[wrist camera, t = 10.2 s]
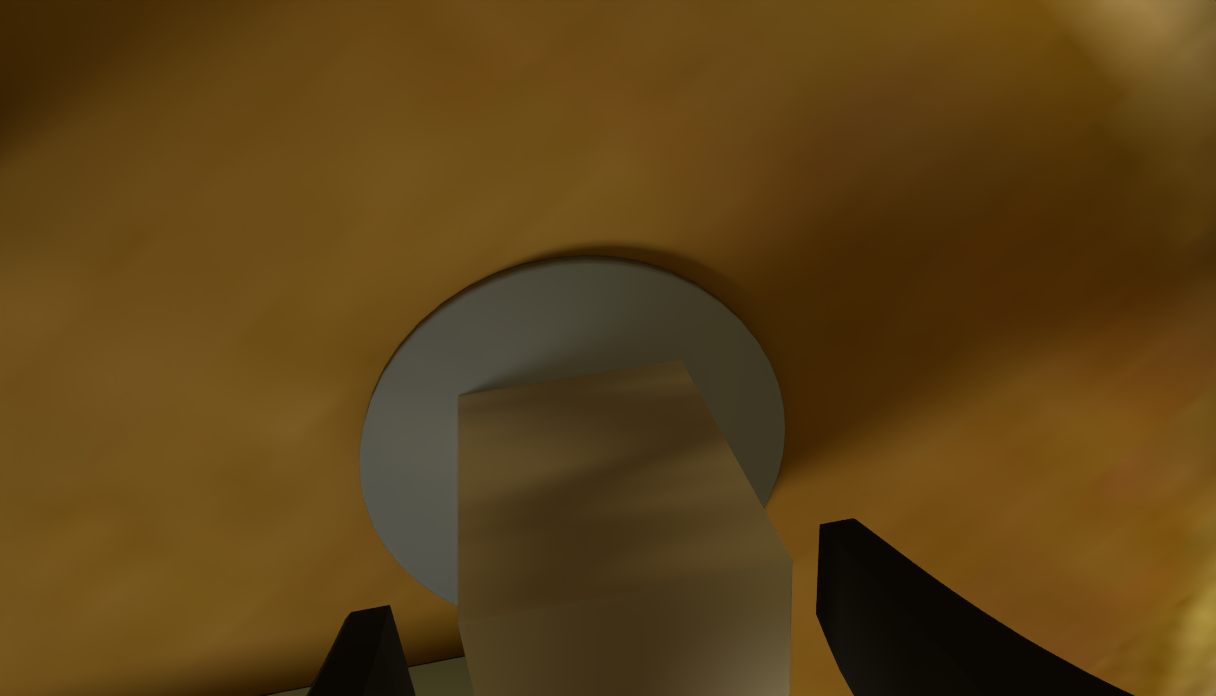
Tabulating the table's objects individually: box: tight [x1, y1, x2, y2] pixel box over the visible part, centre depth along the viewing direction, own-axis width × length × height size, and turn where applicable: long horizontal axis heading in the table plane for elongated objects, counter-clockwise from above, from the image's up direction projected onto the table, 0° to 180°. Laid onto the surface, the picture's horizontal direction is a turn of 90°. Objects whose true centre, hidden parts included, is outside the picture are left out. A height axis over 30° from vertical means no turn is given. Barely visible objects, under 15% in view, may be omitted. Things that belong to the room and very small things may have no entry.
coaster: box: [359, 256, 785, 606], centre depth 17 cm, size 9×9×1 cm
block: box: [458, 360, 792, 696], centre depth 14 cm, size 4×4×6 cm
